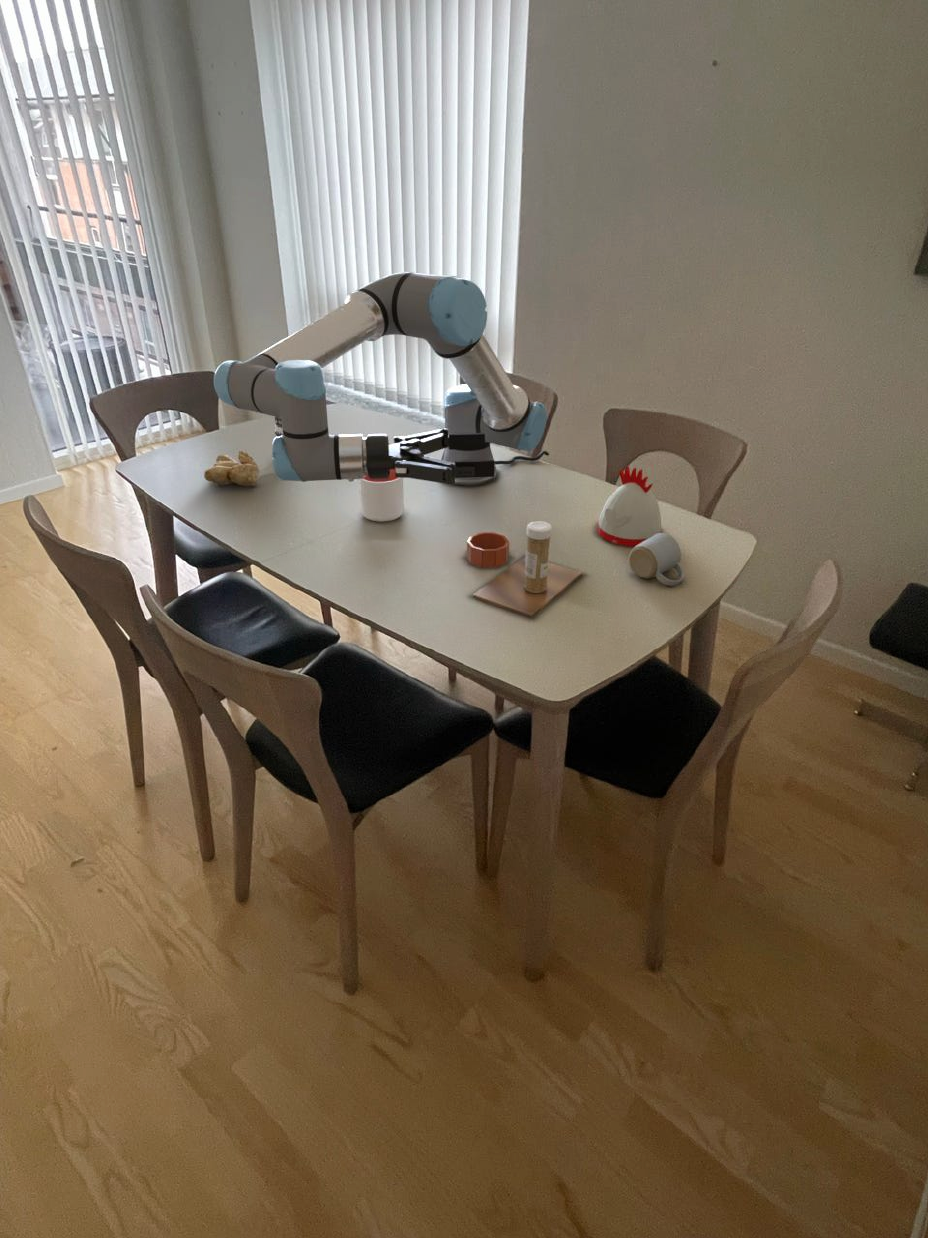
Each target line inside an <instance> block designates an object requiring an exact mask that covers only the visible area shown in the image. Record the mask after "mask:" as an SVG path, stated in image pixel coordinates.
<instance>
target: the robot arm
mask: <svg viewBox="0 0 928 1238" xmlns="http://www.w3.org/2000/svg"><path fill="white" fill-rule="evenodd" d="M486 308H487V301H486V297H485V294H484V293H483V291H482V289H481V288H480V287H479V286H478V284H476V283H475V282H473V281H472V280H470V279H466V278H462V277H460V276H456V275H439V274H429V273H418V272H412V271H401V272H395V273H392V274H388V275H385V276H383V277H381V278H378V279H375V280H373V281H371V282H369V283H366V284H365V285H363V286H361V287H359V288H357V289H356V290H355V291H353V292H351V293H350V294H348V295H347V297H346V299H345V301H344V303H343V304H342V305H340V306H338V307H337V308H335V309H333V310H331V311H330V312H328V313H327V314H324V315H323V316H322V317H320V318H318V319H316V320H315V321H313V322H311V323H309V324H308V325H306V326H304V327H303V328H301V329H299V330H298V331H296V332H294V333H293V334H291V335H289V336H287V337H285V338H284V339H282V340H280V341H279V342H277V343H275V344H274V345H272V346H269V348H268V347H267V349H265V350H263V351H262V352H260V353H258V354H256V355H255V356H253V357H251V358H249V359H248V360H245V361H241V360H238V359H237V360H226V361H224V362H222V363H220V364H219V366H218V367H217V368H216V370H215V372H214V376H213V386H214V391H215V394H216V395H217V397H218V398H219V400H220V401H221V402H222V403H225V404H227V405H230V406H232V407H235V408H237V409H240V410H246V411H250V412H254V413H260V414H264V415H268V416H270V417H271V416H272V417H274V418H275V417H278V418H281V422H282V430H283V435H281V436H277V435H276V436H277V437H276V436H275V437H274V438H273V440H272V443H271V454H272V455H271V456H272V465H273V470H274V473H275V476H276V477H277V478H278V479H279V480H280V481H285V482H286V481H287V482H289V481H290V482H302V483H304V482H305V483H306V482H313V481H342V480H345V481H346V480H348V482H350V483H352V482H354V480H359V479H364V478H365V475H368V476H369V478H371V479H388V478H389V477H390V469H395V477H398V478H403V479H414V480H420V481H425V482H427V481H428V482H432V483H438V484H439V483H440V484H445V485H456V486H466V487H468V486H470V487H471V486H480V485H485V484H488V483H491V482H492V481H494V480H495V479H496V478H497V471H498V470H497V465H511V464H513V463H514V462H515V461H518V460H519V461H520V460H521V461H528V462H534V461H538V460H540V459H541V458H542V457H543V456H544V455H545V456H547V457H548V456H550V453H549V452H548V451H547V450H542V451H541V452H539V454H538V455H536V456H532V457H530V456H524V455H516V456H513V457H511V459H510V460H495V459H494V456H493V452H492V448H491V444H492V445H493V444H494V445H498V446H502V447H507V448H510V449H513V450H514V449H515V450H517V451H524V452H531V451H533V450H534V449H535V448H537V446H538V445H539V444H540V442H541V440H542V438H543V436H544V433H545V429H546V426H547V420H548V412H547V408H546V406H545V405H544V403H541V402H540V401H532V400H530V398H529V397H528V395H527V393H526V391H525V390H524V389H523V388H522V387H520V386H519V385H515V384H513V382H512V380H511V379H510V377H509V375H508V373H507V372H506V370H505V369H504V367H503V366H502V364H501V362H500V360H499V358H498V357H497V355H496V354H495V352H494V350H493V348H492V347H491V345H490V343H489V342H488V340H487V338H486V336H485V335H484V332H485V329H486V327H487V321H488V311H487V310H486ZM394 335H395V336H396V335H398V336H405V337H410V338H418V339H423V340H425V341H426V343H428V345H429V347H430V348H431V349H432V350H433V352H434V353H435V354H436V355H437V356H439V358H442V359H446V360H449V362H450V363H451V364H452V366H453V367H454V369H455V370H456V372H457V373H458V374H459V376H460V377H461V379H462V380H463V382H464V383H465V384H459V385H456V386H453V387H450V388H449V389H448V390H446V392H445V397H444V406H443V408H444V428H442V429H435V430H431V431H424V432H420V433H414V434H409V435H399V436H394V437H393V443H389V436H388V434H386V433H372V434H371V433H370V434H368V435H366V437H364V435H363V434H362V433H357V434H335V435H334V434H330V433H329V422H328V408H327V395H326V393H327V390H326V389H327V388H326V386H325V380H324V375H323V374H324V373H323V368H325V367H326V366H329V364H331V363H333V362H334V361H336V360H337V359H339V358H340V357H343V356H344V355H346V354H347V353H348V352H350V351H352V350H353V349H354V348H356V347H358V346H360V345H361V344H363V343H365V342H366V341H368V342H376V341H377V340H379V339H381V338H382V337H385V336H394ZM440 450H443V452H442V455H441V458H440V459H439V458H435V457H432V456H427V455H428V454H432V453H435V452H438V451H440Z"/></svg>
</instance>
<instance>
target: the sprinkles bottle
mask: <svg viewBox="0 0 928 1238" xmlns="http://www.w3.org/2000/svg"><path fill="white" fill-rule="evenodd" d="M552 527H553V526H552V525H551V523H548V522H546V521H541V520H536V521H531V522H529V523H528V524H527V526H526V537H527V538H526V550H525V556H526V564H525V584H524V588H525V590H527V591H528V592H531V593H542V592H544V591H545V590H546V589H547V574H548V562H549V559H550V542H551V541H550V540H551V537H552V531H553V530H552V529H553V528H552Z"/></svg>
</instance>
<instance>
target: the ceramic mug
mask: <svg viewBox="0 0 928 1238" xmlns="http://www.w3.org/2000/svg"><path fill="white" fill-rule="evenodd" d="M681 560H682V549H681V547H680V545H679V543H678V541H677V540H676V539H675V537H673V536H672V535H670V534H669V533H666V532H661V533H657V534H655V535H654V536H652V537H650V538H648V539H647V540H645V541H643V542H642V543H640V544H638V545H637V546H633V548H632V549H631V550H630V552H629V555H628V562H629V566H630V568H631V570H632V572H634V574H635V575H636V576H638V577H640V578H642V579H653V578H656V579H657V580H658V581H659V582H660V583H662V584H663V585H666V586H669V587H674V586H677V585H679V584H680V583H681V582H682V581H683V579H684V576H685V572H684V570H683V568H682V566H681V564H680V563H681ZM673 569H674V570H675V572H676V573H677V575H678V579H676V580H673V579H669V578H667V577H666V576H665V575H663V574H664V573H666V572H668V571H671V570H673Z"/></svg>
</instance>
